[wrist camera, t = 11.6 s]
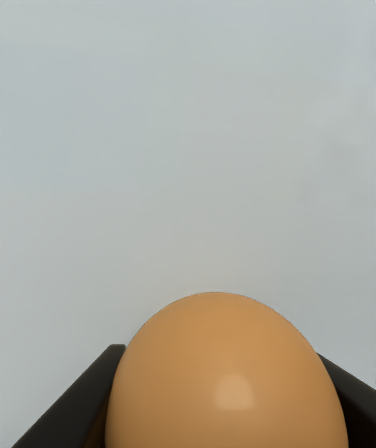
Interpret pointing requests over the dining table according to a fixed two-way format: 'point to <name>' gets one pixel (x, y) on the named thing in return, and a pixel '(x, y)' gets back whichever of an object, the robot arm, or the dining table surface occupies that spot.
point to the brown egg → (222, 381)
